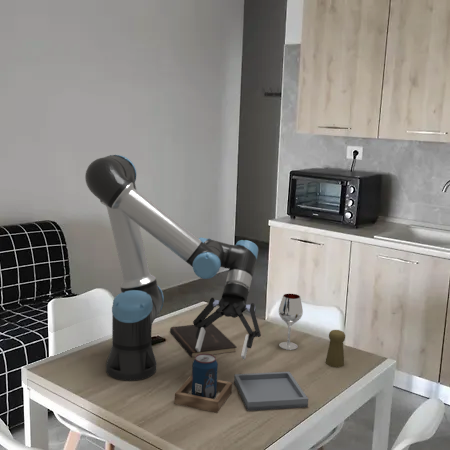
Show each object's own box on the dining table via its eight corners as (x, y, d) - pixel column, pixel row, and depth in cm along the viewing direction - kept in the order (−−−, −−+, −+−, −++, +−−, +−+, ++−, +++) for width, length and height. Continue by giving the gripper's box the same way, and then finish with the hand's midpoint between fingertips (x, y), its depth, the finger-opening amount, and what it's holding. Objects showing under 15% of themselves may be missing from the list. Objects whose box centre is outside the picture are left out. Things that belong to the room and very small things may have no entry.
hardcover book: (211, 328, 218) (211, 322, 217) (236, 353, 197) (236, 346, 196) (169, 333, 211) (170, 327, 211) (191, 359, 191) (191, 352, 190)
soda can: (199, 389, 169) (201, 350, 167) (220, 396, 166) (222, 356, 163) (186, 399, 163) (188, 359, 161) (208, 406, 160) (210, 365, 157)
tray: (247, 410, 158) (248, 402, 158) (234, 382, 175) (234, 374, 174) (307, 407, 162) (308, 398, 161) (289, 379, 178) (289, 371, 178)
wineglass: (294, 353, 198) (297, 301, 194) (272, 347, 202) (275, 296, 198) (304, 345, 205) (307, 295, 201) (282, 339, 209) (286, 291, 205)
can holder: (174, 403, 160) (174, 393, 160) (191, 384, 172) (191, 374, 171) (217, 412, 157) (217, 402, 156) (231, 392, 168) (232, 382, 168)
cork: (346, 361, 193) (349, 330, 190) (341, 368, 187) (344, 336, 185) (328, 357, 195) (330, 326, 193) (323, 364, 190) (325, 332, 187)
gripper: (278, 298, 178) (264, 365, 167) (201, 288, 185) (182, 351, 174) (275, 287, 172) (260, 355, 161) (195, 277, 179) (175, 341, 168)
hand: (220, 353), depth 168 cm, fingers open, 13 cm apart
